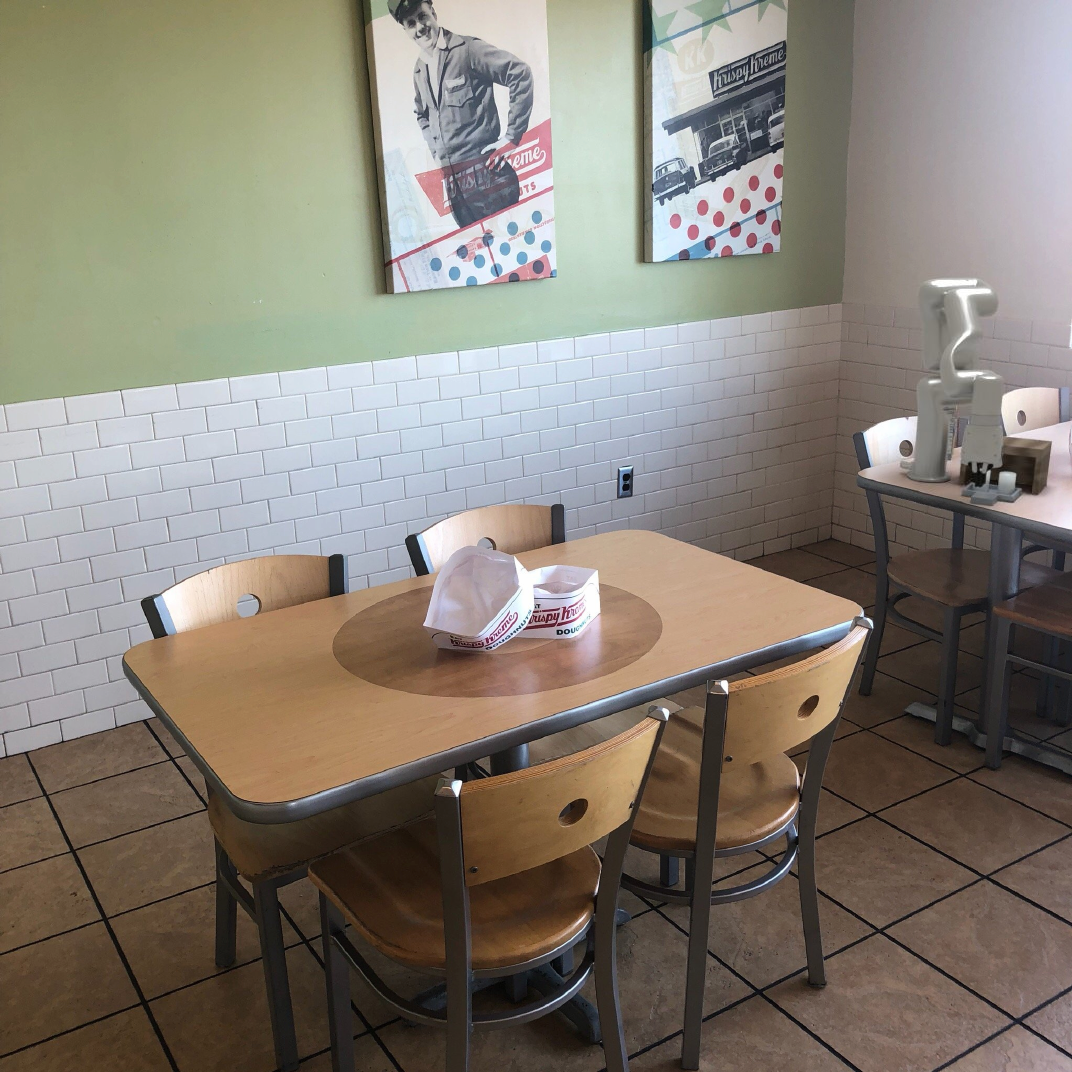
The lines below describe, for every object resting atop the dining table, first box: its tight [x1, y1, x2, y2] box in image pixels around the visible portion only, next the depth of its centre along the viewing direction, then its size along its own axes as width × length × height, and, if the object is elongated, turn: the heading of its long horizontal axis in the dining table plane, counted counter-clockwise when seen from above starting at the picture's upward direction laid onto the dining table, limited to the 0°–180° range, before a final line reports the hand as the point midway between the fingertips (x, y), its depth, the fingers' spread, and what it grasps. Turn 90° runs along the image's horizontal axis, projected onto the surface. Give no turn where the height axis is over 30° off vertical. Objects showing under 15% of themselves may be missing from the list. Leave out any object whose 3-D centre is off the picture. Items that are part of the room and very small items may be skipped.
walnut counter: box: [958, 435, 1053, 496], centre depth 314 cm, size 22×12×14 cm, turn 54°
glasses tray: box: [961, 469, 1023, 507], centre depth 303 cm, size 14×16×7 cm
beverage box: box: [943, 406, 959, 461], centre depth 349 cm, size 7×11×22 cm, turn 156°
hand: (979, 486), depth 291 cm, fingers closed
